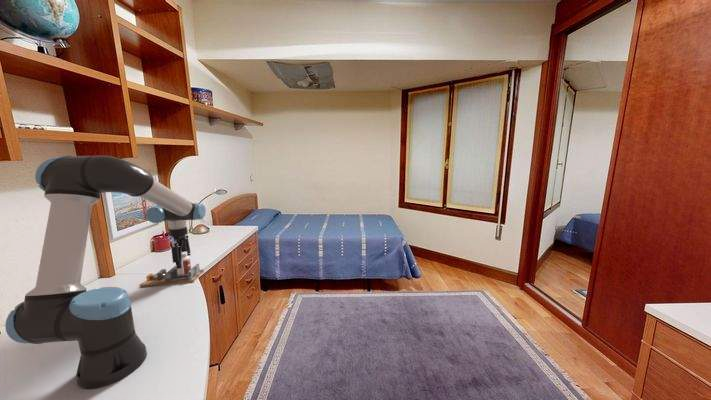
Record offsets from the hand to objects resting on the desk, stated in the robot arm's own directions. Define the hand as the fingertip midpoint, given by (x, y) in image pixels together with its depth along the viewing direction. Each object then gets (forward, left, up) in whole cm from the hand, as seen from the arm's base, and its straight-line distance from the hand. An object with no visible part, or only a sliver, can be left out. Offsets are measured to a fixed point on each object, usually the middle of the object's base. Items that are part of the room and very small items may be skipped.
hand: (184, 270), depth 133 cm
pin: (0, +13, -3) cm, 13 cm away
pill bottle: (0, 0, -2) cm, 2 cm away
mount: (0, +5, -4) cm, 6 cm away
